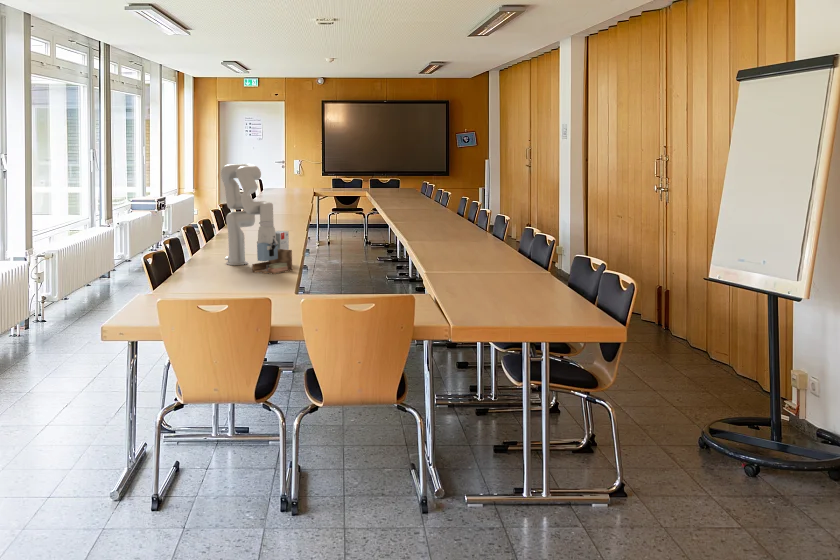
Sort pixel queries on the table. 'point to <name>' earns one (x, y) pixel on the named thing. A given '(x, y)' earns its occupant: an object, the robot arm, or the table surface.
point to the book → (266, 252)
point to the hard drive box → (282, 239)
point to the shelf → (281, 259)
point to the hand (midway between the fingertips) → (267, 255)
